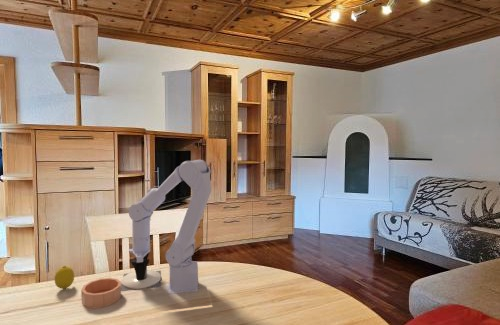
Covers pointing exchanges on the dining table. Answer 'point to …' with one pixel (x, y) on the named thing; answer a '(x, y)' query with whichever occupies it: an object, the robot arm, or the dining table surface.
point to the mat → (143, 288)
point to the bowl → (101, 292)
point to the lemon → (64, 277)
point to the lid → (149, 280)
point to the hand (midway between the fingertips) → (141, 274)
